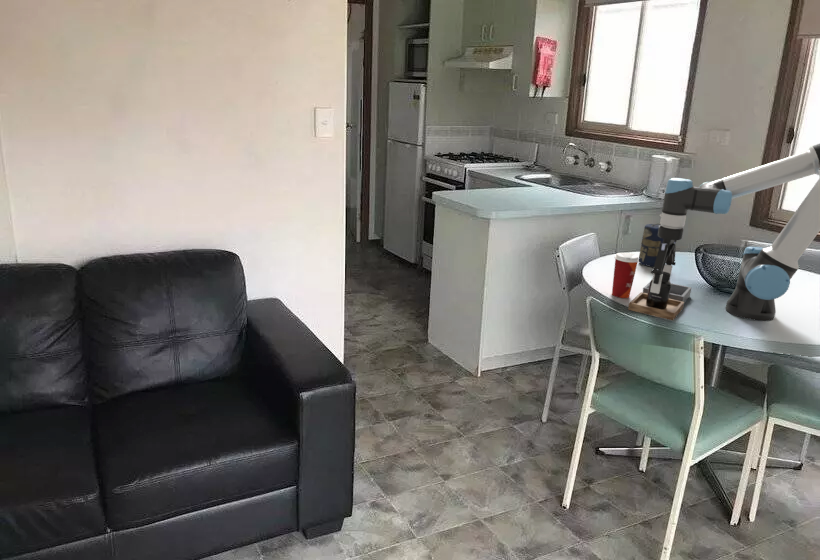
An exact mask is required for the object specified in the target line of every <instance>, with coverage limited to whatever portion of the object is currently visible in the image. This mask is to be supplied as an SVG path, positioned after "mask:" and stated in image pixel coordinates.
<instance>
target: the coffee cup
mask: <svg viewBox="0 0 820 560" xmlns="http://www.w3.org/2000/svg"><path fill="white" fill-rule="evenodd" d="M614 259H615V260H614V268H613V280H612V291H611V295H612V296H614V298H620V299H628V298H630V295H631V291H632V287H633V283H634V279H635V274H636V271H637V266H638V263H639V255H636V254H635V253H630V252H617V253H616V255H615V256H614Z"/></svg>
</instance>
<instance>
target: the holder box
mask: <svg viewBox="0 0 820 560" xmlns="http://www.w3.org/2000/svg"><path fill="white" fill-rule="evenodd" d="M670 283H671V290H670V295H669V299H673V300H678V301H682V302H684V304H685V303H686V302H687V301H688V299H690V297H691V293H692V287H691V286H685V285H681V284H677V283H672V282H670ZM649 285H650V282H648V283H647V284H646V285H644V287H643V288H642V293H647V294H648V290H649Z"/></svg>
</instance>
